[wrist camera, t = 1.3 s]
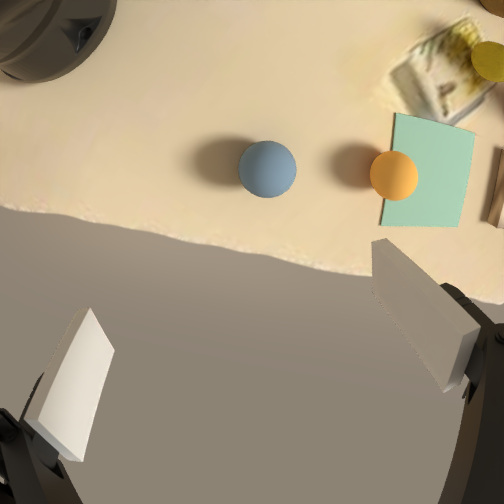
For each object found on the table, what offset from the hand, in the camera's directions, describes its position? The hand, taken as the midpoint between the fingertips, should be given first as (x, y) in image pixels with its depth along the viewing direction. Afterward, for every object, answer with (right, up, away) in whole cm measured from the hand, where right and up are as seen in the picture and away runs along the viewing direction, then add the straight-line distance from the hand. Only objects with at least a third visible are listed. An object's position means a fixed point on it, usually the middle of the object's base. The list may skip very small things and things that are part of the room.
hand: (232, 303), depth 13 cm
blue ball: (+2, +10, +16) cm, 19 cm away
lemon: (+30, +28, +13) cm, 43 cm away
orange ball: (+16, +10, +17) cm, 26 cm away
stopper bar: (+40, +12, +22) cm, 47 cm away
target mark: (+24, +12, +20) cm, 34 cm away
